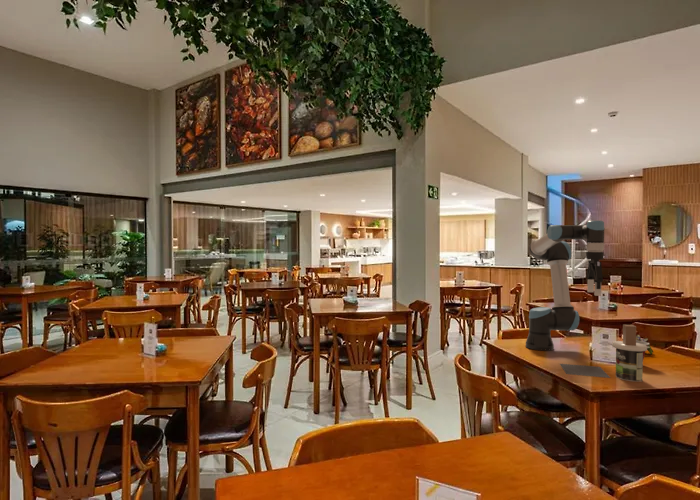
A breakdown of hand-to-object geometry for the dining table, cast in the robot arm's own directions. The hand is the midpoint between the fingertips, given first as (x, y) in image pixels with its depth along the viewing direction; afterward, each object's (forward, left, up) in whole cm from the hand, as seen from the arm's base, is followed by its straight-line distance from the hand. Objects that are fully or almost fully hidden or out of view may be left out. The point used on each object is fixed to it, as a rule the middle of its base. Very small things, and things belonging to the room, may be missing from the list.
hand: (594, 293), depth 207 cm
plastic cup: (-9, +21, -36) cm, 43 cm away
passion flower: (-37, +31, -36) cm, 61 cm away
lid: (+19, +10, -22) cm, 30 cm away
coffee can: (+19, +10, -36) cm, 42 cm away
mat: (+13, -7, -36) cm, 39 cm away
